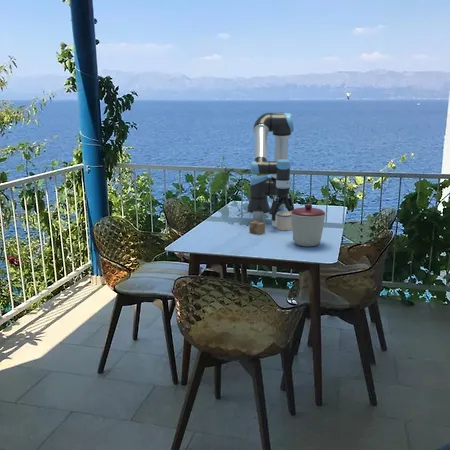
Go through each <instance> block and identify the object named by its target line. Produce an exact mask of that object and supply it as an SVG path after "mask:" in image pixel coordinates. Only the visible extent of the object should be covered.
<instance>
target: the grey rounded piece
mask: <svg viewBox="0 0 450 450" xmlns="http://www.w3.org/2000/svg"><path fill="white" fill-rule="evenodd" d="M253 221H258V222H263V223H264V213H263V212H262V211H253V212H252V222H253Z"/></svg>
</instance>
